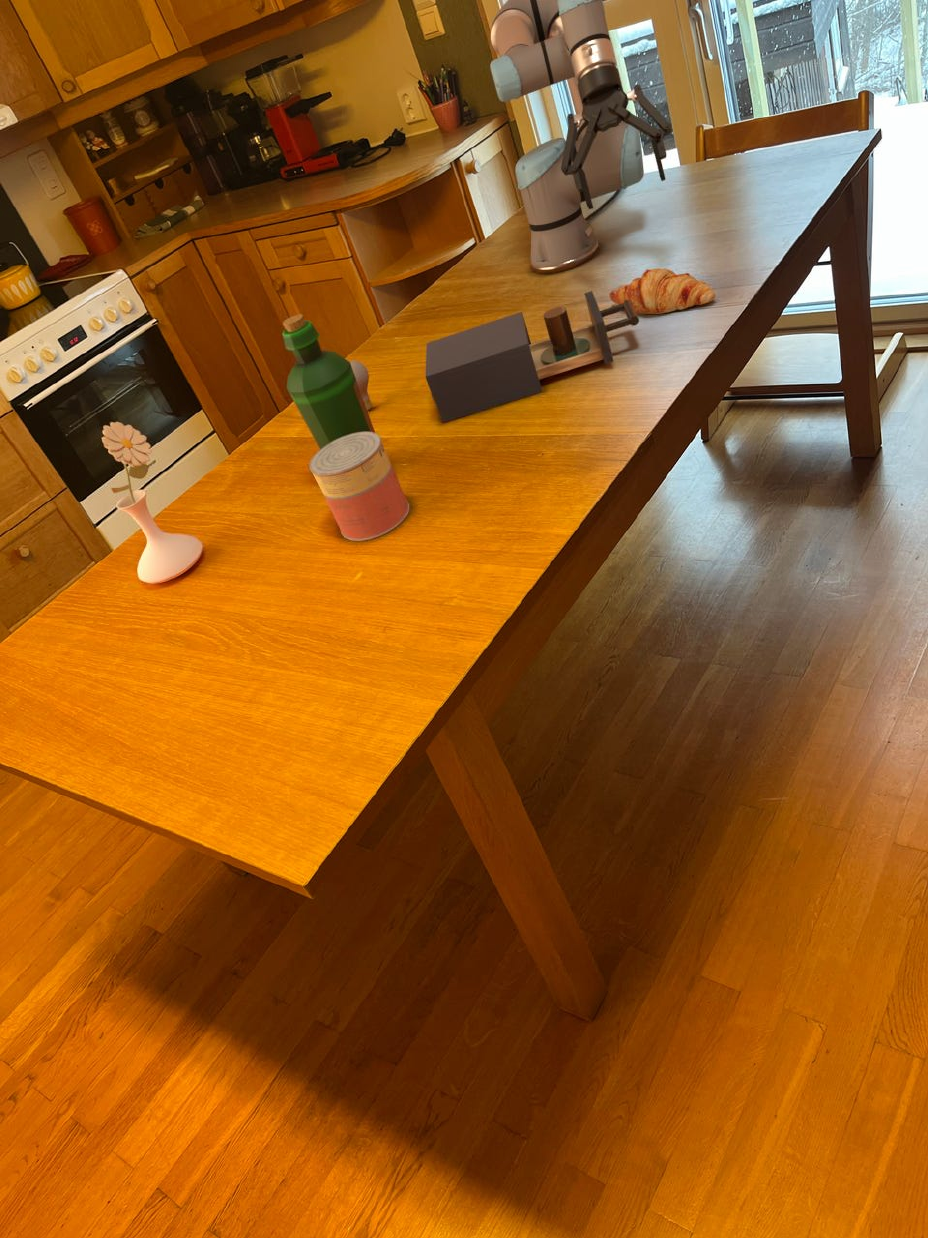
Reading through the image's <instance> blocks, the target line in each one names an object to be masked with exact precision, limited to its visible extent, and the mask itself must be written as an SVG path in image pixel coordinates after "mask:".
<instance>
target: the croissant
mask: <svg viewBox="0 0 928 1238" xmlns="http://www.w3.org/2000/svg"><path fill="white" fill-rule="evenodd" d="M609 298H610V300H611V301H612V302H613V304H617V305H620V304H622V303H623V302H624V301H625V300H629V301H630V302H631V303H632V305H633V308H634V310H635V312H636V314H637V315H638V314H640V315H661V314H666V313H669V312H670V313H671V312H674V311H678V310H680V311H681V310H685V309H687V308H689V307H690V308H692V307H693V306H695V305H697V306H702V305H705V304H708V303H710V302H712V301H713V300H714V299H715V298H716V291H715V290H714V289H713V288H712V287H711V286H710V285H709V284H708V283H706V282H705V281H699V280H698V279H697V278H696V277H694V275H693V276H692V275H691V274H690V273H689V272H685V273H679V274H676V273H675V272H674V271H673V270H671V269H669V268H663V267H662V268H658V267H657V268H651V269H646V270H645V271H644V272H643V273H642V275H641V276H640V277H636V278H633V280H632V281H631V282H630V284H624V285H621V286H620V287H618V289H614V290H612V291H610V292H609Z"/></svg>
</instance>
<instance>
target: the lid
mask: <svg viewBox="0 0 928 1238" xmlns="http://www.w3.org/2000/svg"><path fill="white" fill-rule="evenodd" d="M542 316H543V320H544V324H545V328H546V331H547V334H548V338H550V342H551V346H550V347H548V348H547V349H546V350H544V351H543V353H542V354H541V361H542V363H543V364H545V365H549V364H552V363H555V362H558V361H561V360H564V359H568V358H571V357H574V356H577V355H580V354H583V353H586V352H588V351H589V350H590V342H589V341H588V340H587V339H584V338H574V337H573V333H572V331H573V329H572V326H571V322H570V318H569V313H568V310H567V307H565V306H556V307H553V308H550V309H548V310H547V311H545V312H544V313H543V315H542Z"/></svg>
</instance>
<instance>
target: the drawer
mask: <svg viewBox="0 0 928 1238" xmlns="http://www.w3.org/2000/svg"><path fill="white" fill-rule="evenodd" d="M584 297H585V302H586V306H587V310H588V315H589V318H590V322H591V324H589V325H585V326H583V327H580V328H576V329H572V333H573V337H574V338H584V339H587V340H588V341H589V342H590V350H589V351H588V352H586V353H583V354H580V355H577V356H574V357H571V358H568V359H564V360H561V361H558V362H555V363H552V364H549V365H545V364H543V363H542V361H541V354H542V353H543V351H544V350H546V349H547V348H548V347H550V346H551V342H550V338H549V337H548V338H546V339H543V340H539V341H537V342H533V343H531V344H530V345H529V347H530V351H531V354H532V358H533V361H534V364H535V368H536V371H537V375H538V378H539V380H540V381H541V380H543V379H545V378H548V377H552V376H555V375H559V374H562V373H565V372H568V371H571V370H574V369H577V368H580V367H583V366H586V365H590V364H593V363H597V362H600V361H603V362H604V364H605V365H606V364H609V363H612V362H614V358H613V354H612V349H611V345H610V341H609V337H608V333H609V332H612V331H615V330H619V329H621V328H624V327H628V326H632V327H634V326H637V325H638V324H639V323H640V318H639V315H638V313H636V312H635V310H634V308H633V305H632V303H631V302H630V301H629V300H625V301H624V302H623V303H622V304H620V305H618V304H617V305H614V306H610V307H608V308H605V309H602V310H600V308H599V305H598V302H597V300H596V297H595V295H594V292H593V291H592V290H591V291H587V292H584ZM623 311H624V313H625V315H626V318H624V319H620V320H617V321H615V322H611V323H607V324H605V321H604V318H605V317H608V316H611V315H614V314H617V313H620V312H623Z"/></svg>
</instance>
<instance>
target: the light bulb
mask: <svg viewBox="0 0 928 1238" xmlns="http://www.w3.org/2000/svg"><path fill="white" fill-rule="evenodd" d="M348 361H349V362H350V364H351V367H352V370H353V372H354V375H355V378H356V381H357V383H358V386H359V389H360V392H361V395H362V397H363V400H364V403H365V406H366V408H367V411H368V412H369V411H371V409H372V408H373V404H372V402H371V399H370V398H371V397H370V395H369V392H368V388H369V380H370V374H369V371H368V368H367V367H366V366H365V364H364V363H362V362H360V361H358V360H348Z"/></svg>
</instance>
